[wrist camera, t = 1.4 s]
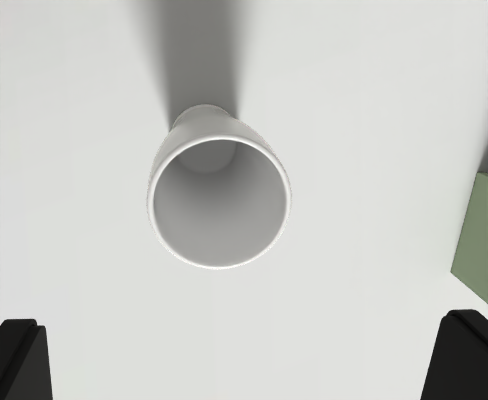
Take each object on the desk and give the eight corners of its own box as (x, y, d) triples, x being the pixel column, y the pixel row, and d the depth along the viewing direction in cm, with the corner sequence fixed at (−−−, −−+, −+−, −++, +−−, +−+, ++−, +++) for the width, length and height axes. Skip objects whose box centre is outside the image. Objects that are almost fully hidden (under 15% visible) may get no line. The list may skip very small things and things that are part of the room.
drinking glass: (171, 186, 34) (164, 285, 20) (151, 102, 32) (126, 148, 18) (254, 170, 34) (302, 255, 21) (240, 85, 32) (284, 117, 18)
